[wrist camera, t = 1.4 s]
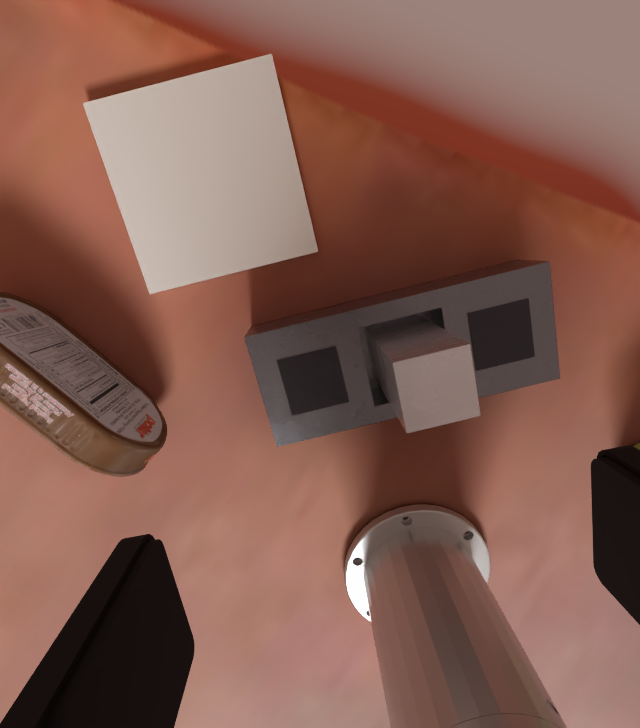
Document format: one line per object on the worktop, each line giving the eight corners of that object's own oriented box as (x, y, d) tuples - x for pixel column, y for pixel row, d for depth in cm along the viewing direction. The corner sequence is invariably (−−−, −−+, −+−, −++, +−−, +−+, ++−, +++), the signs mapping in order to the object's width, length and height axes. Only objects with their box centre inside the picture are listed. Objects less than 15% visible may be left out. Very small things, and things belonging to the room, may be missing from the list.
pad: (317, 251, 30) (318, 251, 29) (154, 292, 30) (149, 294, 29) (272, 60, 27) (271, 53, 26) (90, 108, 27) (82, 103, 26)
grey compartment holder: (529, 362, 33) (560, 378, 29) (279, 423, 33) (277, 447, 29) (518, 259, 31) (550, 261, 27) (251, 326, 31) (244, 337, 27)
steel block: (426, 365, 32) (480, 415, 22) (374, 377, 32) (406, 433, 22) (417, 314, 31) (470, 344, 21) (363, 327, 31) (392, 363, 21)
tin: (-5, 308, 30) (-118, 330, 22) (22, 276, 30) (-84, 286, 21) (160, 443, 33) (115, 505, 25) (187, 416, 33) (150, 471, 25)
